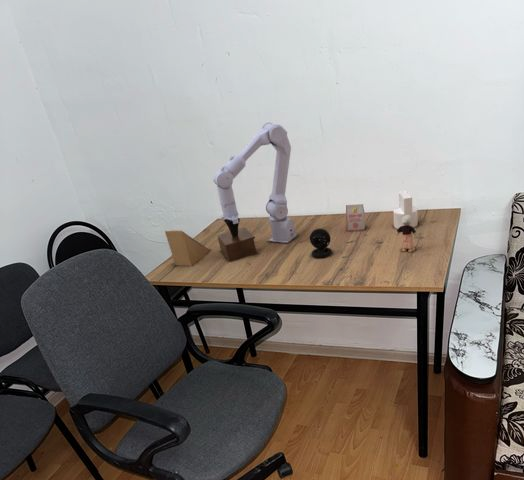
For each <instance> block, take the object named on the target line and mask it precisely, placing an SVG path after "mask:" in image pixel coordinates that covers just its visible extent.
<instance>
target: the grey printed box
mask: <svg viewBox="0 0 524 480" xmlns="http://www.w3.org/2000/svg"><path fill="white" fill-rule="evenodd" d="M364 208H365V207H364V204H362V203H358V204H346V205H345V221H346V222H345V223H346V224H345V225H346V231H347V232H353V231H354V232H355V231H358V232H359V231H365V229H366V214H365V209H364Z"/></svg>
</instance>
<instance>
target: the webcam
mask: <svg viewBox="0 0 524 480" xmlns="http://www.w3.org/2000/svg"><path fill="white" fill-rule="evenodd" d="M331 239H332V238H331V235H330V233H329V231H328V230H326V229H324V228H316V229H314V230H313V231H311V233H310V234H309V242H310V244H311V245H312V247H313V248H315V249H313V250H312V252H311V256H312V257H313V258H316V259H323V258H327V257H329V256H331V254H332V253H333V251H332V249H331V248H330V247H328V246H329V245H330V243H331Z"/></svg>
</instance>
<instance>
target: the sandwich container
mask: <svg viewBox="0 0 524 480" xmlns="http://www.w3.org/2000/svg"><path fill="white" fill-rule="evenodd" d="M164 233H165V236H166V237H165V238H166V239H167V243H168V246H169V249H170V253H171V255H172V258H173V260H174V264H175V266H183V267H184V266H186V267H192V266H193V265H195V264H196V263H197V262H199V261H200V260H201V259H202V258H203V257H204V256H205V255H207V254H208V253H209V252H210V251H211V249H209V248H208V247H206V246H205V245H203V244H202V243H201V242H199V241H197V240H196V239H194V238H193V237H191V236H190V235H189V234H187V233H186V232H184V231H183V230H178V229H177V230H174V229H172V230H164Z"/></svg>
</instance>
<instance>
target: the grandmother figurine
mask: <svg viewBox="0 0 524 480" xmlns="http://www.w3.org/2000/svg"><path fill="white" fill-rule="evenodd" d="M401 222H402V223H403V224H404V225H405V226H401V227H399V228H398V229H397V228H396V233H395V236H400V235H399V234H401V246H402V247H401V248H402V249H401V252H409V253H412V252H414V251H416V248H415V247H414V242H413V241H414V239H413V236H414V238H418V234H417V230H416V229H415V227H414V228H413V227H412V226H410V223H411V216H410V215H406V216H404V217H403V218H402V221H401Z"/></svg>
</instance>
